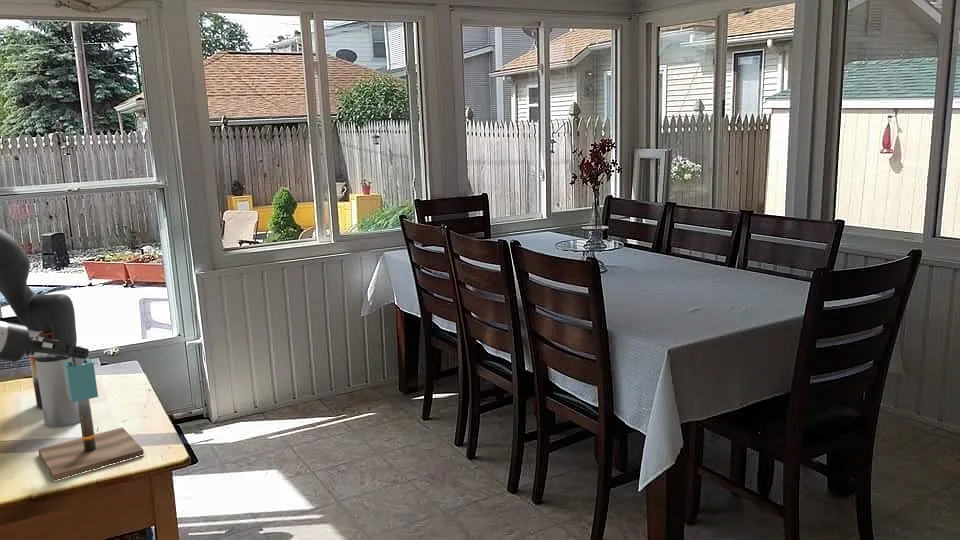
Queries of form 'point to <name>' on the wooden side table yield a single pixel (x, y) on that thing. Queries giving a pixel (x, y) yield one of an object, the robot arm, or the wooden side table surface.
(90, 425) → the pipe
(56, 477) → the stand board
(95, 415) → the wooden side table surface
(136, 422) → the wooden side table surface
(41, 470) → the wooden side table surface
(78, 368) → the sleeve
